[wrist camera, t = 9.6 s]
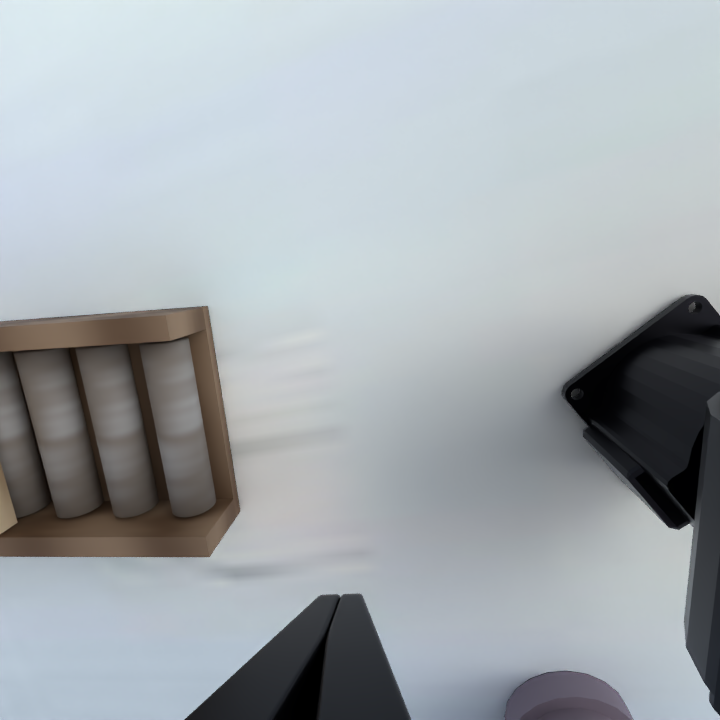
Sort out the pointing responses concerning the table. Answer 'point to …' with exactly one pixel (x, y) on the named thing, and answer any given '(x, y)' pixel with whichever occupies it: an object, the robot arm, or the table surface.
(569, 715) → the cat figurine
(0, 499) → the slab
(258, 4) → the table surface
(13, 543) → the roller track
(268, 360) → the table surface
